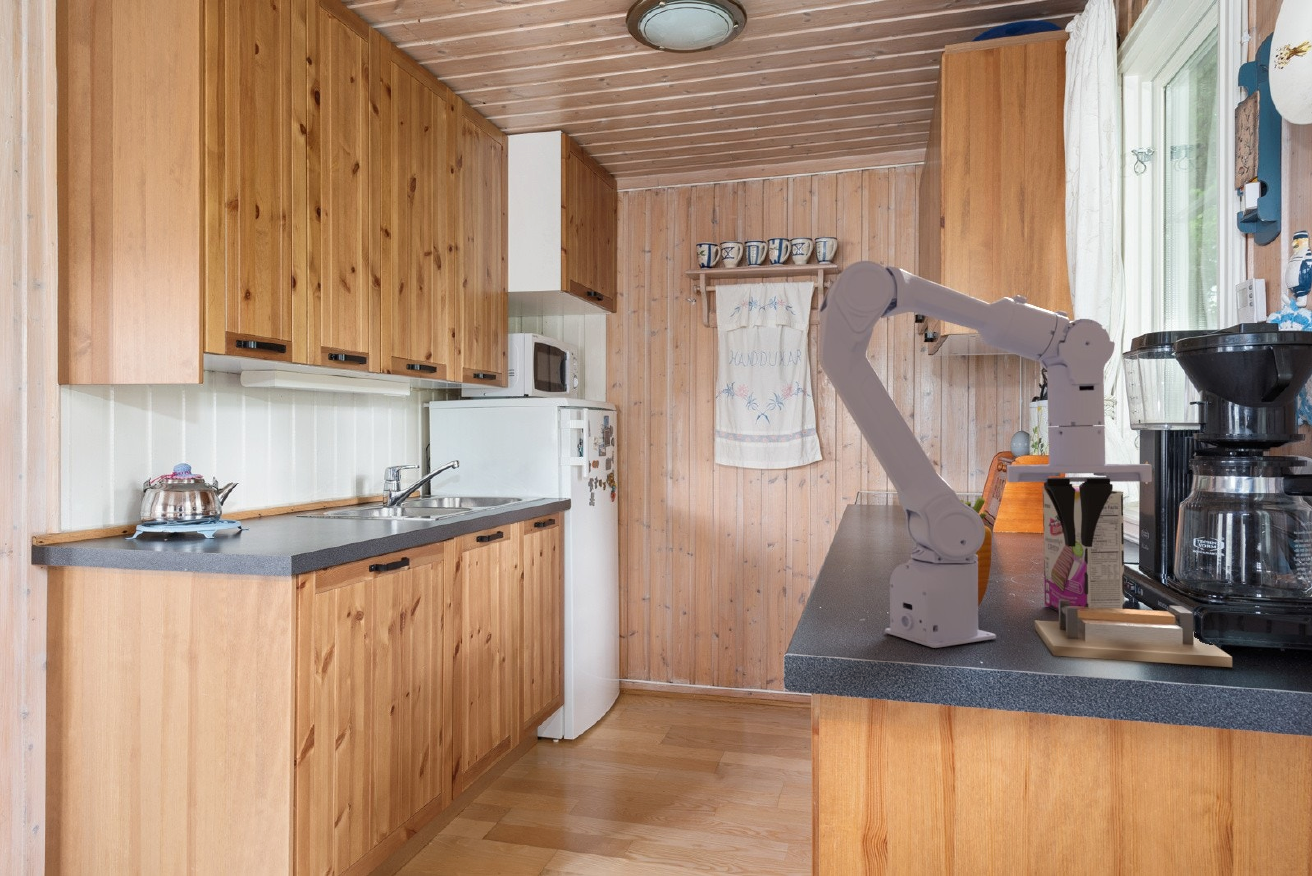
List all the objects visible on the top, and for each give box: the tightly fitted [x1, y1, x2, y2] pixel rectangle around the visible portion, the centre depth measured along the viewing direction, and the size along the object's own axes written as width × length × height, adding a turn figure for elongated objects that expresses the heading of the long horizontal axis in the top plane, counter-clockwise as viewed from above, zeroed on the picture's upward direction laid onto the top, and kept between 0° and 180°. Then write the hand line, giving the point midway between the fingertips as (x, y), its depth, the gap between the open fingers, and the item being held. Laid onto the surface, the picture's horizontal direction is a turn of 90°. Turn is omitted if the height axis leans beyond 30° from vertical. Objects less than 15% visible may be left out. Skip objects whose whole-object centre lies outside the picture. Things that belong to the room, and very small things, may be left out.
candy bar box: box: [1042, 484, 1126, 612], centre depth 101 cm, size 11×5×16 cm, turn 179°
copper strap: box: [1061, 605, 1175, 624], centre depth 87 cm, size 10×2×1 cm, turn 73°
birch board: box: [1034, 619, 1233, 668], centre depth 86 cm, size 16×12×1 cm
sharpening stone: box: [1058, 599, 1195, 648], centre depth 86 cm, size 12×7×3 cm, turn 73°
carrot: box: [960, 497, 993, 608], centre depth 104 cm, size 5×5×15 cm
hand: (1078, 545), depth 90 cm, fingers closed
